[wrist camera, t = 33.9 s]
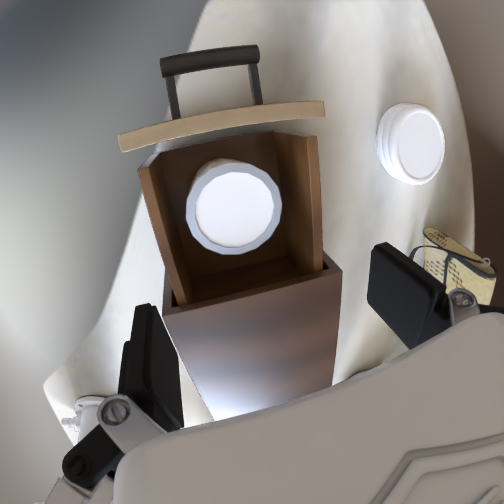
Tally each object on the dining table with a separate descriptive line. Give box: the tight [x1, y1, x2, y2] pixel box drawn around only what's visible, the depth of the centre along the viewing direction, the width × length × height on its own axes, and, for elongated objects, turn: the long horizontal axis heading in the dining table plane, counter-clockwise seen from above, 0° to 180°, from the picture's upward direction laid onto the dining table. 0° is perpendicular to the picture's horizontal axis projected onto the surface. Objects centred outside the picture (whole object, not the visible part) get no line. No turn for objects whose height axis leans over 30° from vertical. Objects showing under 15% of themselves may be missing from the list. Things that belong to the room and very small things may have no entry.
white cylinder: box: [186, 158, 282, 254], centre depth 22 cm, size 7×7×7 cm
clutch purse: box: [409, 228, 498, 305], centre depth 36 cm, size 30×7×15 cm, turn 22°
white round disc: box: [376, 103, 445, 185], centre depth 28 cm, size 10×10×4 cm
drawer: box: [118, 45, 325, 306], centre depth 22 cm, size 22×13×9 cm, turn 7°
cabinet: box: [162, 251, 343, 421], centre depth 30 cm, size 18×15×11 cm
